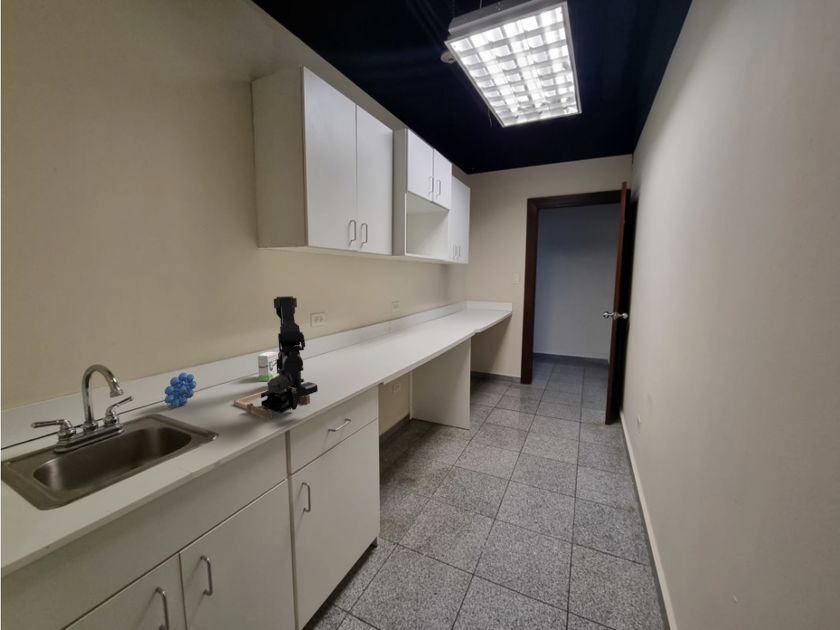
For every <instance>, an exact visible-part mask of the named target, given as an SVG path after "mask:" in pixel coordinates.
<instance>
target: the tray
mask: <svg viewBox="0 0 840 630" xmlns="http://www.w3.org/2000/svg"><path fill="white" fill-rule="evenodd" d="M266 391H268V389H267V390H264V391H260V392H257V393H255V394H251V395H248V396H244V397H242V398H238V399H236V400H233V405H234V406H235V407H239V408H241V409H244V410H247V404H248V403H247V402H251V401H253V400H257V399H259V398H261V393H264V392H266Z"/></svg>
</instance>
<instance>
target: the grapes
mask: <svg viewBox="0 0 840 630" xmlns="http://www.w3.org/2000/svg"><path fill="white" fill-rule="evenodd" d="M194 379H195V375H193V374H187V372H181V373H180V374H179V375H178V377H177V376H174V377H172V378H171V379H170V381H169V384H170V385H168V386H166V388H165V389H164V394H165V395H166V396H165V398H164V403H165V404H168V405H169V406H170V408H172V409H174V408H177V407H178V406H180V407H182V406H185V405H186V404H187V403H188V399H191V398H193V397H194V395H195V391H194V389H195V388H196V387H197V382H196V381H195V380H194Z"/></svg>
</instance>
